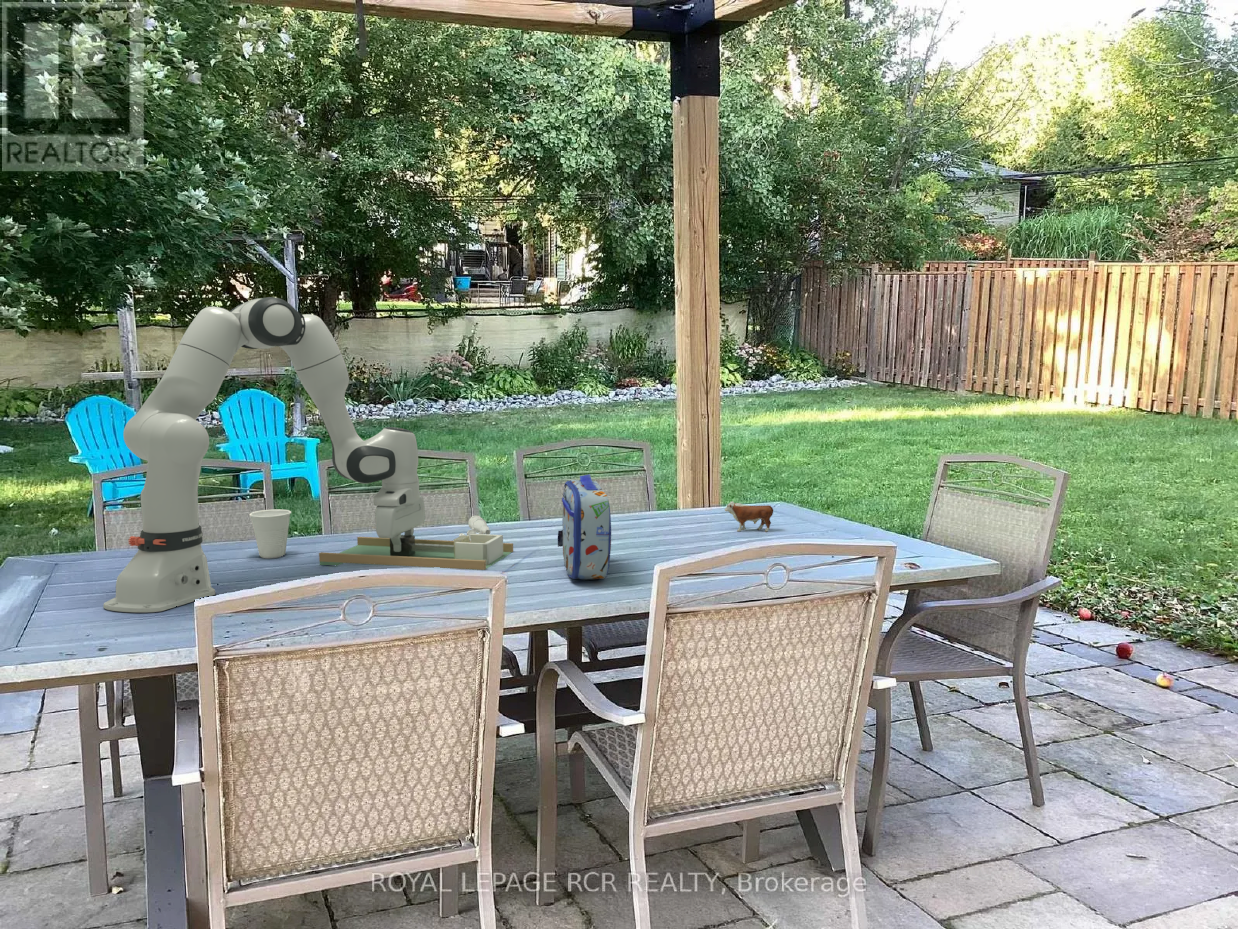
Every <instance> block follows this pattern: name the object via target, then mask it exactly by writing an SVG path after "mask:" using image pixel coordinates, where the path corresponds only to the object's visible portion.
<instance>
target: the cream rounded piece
mask: <svg viewBox="0 0 1238 929" xmlns="http://www.w3.org/2000/svg"><path fill="white" fill-rule="evenodd" d="M467 524H468V525H467V526H468V527H469V529H468V530H467V532H466V534H465V533H462V532H461V533H459V535H458V537H460V536H469V542H471V534H489V535H491V530H490V527H489V526H488V525H487V522H486V520H485V519H484V518H482V517H481V516H480V515H476V514H475V515H472V516H471V517H469V519H468V523H467Z"/></svg>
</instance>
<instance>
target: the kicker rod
mask: <svg viewBox="0 0 1238 929" xmlns="http://www.w3.org/2000/svg"><path fill="white" fill-rule="evenodd" d="M415 539H416V536H415V535H414V534H413V535H404V534H401V538H400V540H401V544H403V550H402V551H400V552H395V551H394V546H393V543H392V541H391V538H390V556H408V557H409V556H411V555H413V554H415V551H419V552H440V553H454V559H455V543H456V542H467V543H469V536H467V535H466V536H460V537H459V536H457V537H456V538H454V539H453V541H454V545H439V544H417V543H415Z"/></svg>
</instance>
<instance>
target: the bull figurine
mask: <svg viewBox="0 0 1238 929" xmlns="http://www.w3.org/2000/svg"><path fill="white" fill-rule="evenodd" d="M724 511H725V512H728V513H729V514H731V515H732V517H733V518H734V520H736V522H738V523H739V527H738V529H737V530H736V532H737V533H738V532H739V533H740V532H741V531H744V530H746V522H752V523H753V524H754V525H755V524H757V522H758V521H760V520H761V522H760V525H759V526H758V527H757V528H756V530H757V531H760V530H762V529H763V527H764V525H765V526H766V528H765V529H764V532H765V533H769V531H770V527H771V524H772V522H771V520H770V519H771V517H772V516H773V515H774V508H773V507H772V506H771V505H769V504H768V505H748V504H743V503H741V502H738V503H737V502H734V501H730V502H729V503H728V504H727V506H725V508H724Z"/></svg>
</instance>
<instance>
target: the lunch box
mask: <svg viewBox="0 0 1238 929" xmlns="http://www.w3.org/2000/svg"><path fill="white" fill-rule="evenodd" d="M563 485H564V486H563V492H561V496H562V498H561V502H562V507H563V508H562V523H561V524H562V529H560V530H558V532H557V547H558V548H559V547H562V555H563V556H562V558H563V563H564V568H565V571H566V573H567V576H568V577H569V578H570V579H572V580H575V579H576V580H601V579H602V580H604V579H605V578H606V577H607V575H608V572H609V569H610V562H611V561H610V560H611V551H612V518H611V507H610V502H609V497H608V495H607V493H606V492H605V490H603V488H602V487H601V486H600V484H599V483H598V481H597V480H592V477H591V474H585V475H580V476H579V480H578V479H577V480H576V479H570V480H567V481H565V483H564V484H563Z"/></svg>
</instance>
